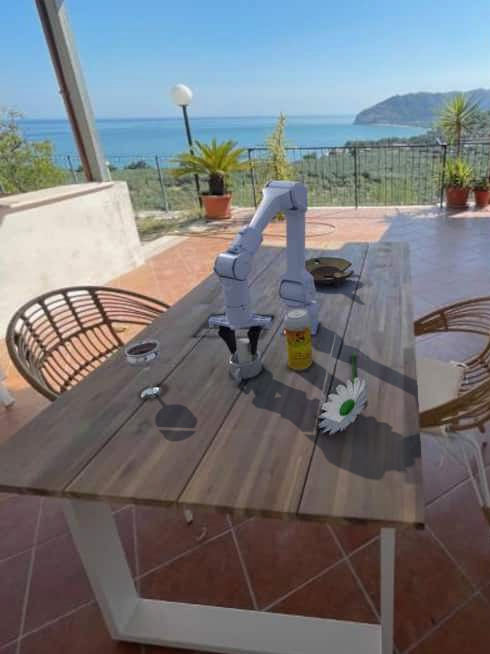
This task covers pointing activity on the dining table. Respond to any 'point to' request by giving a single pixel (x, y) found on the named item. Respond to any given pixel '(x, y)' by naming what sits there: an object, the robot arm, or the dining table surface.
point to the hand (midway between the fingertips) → (244, 352)
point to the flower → (344, 404)
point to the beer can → (298, 338)
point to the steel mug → (245, 367)
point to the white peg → (244, 351)
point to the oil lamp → (328, 269)
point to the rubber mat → (206, 324)
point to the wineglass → (144, 359)
